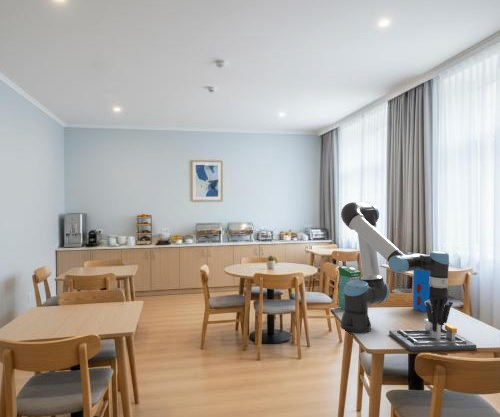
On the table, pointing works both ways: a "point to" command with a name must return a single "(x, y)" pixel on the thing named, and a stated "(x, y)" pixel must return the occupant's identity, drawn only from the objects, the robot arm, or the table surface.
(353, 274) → the milk carton
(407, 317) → the table surface
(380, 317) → the table surface
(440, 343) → the console
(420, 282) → the thermos
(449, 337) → the fader
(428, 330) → the fader
